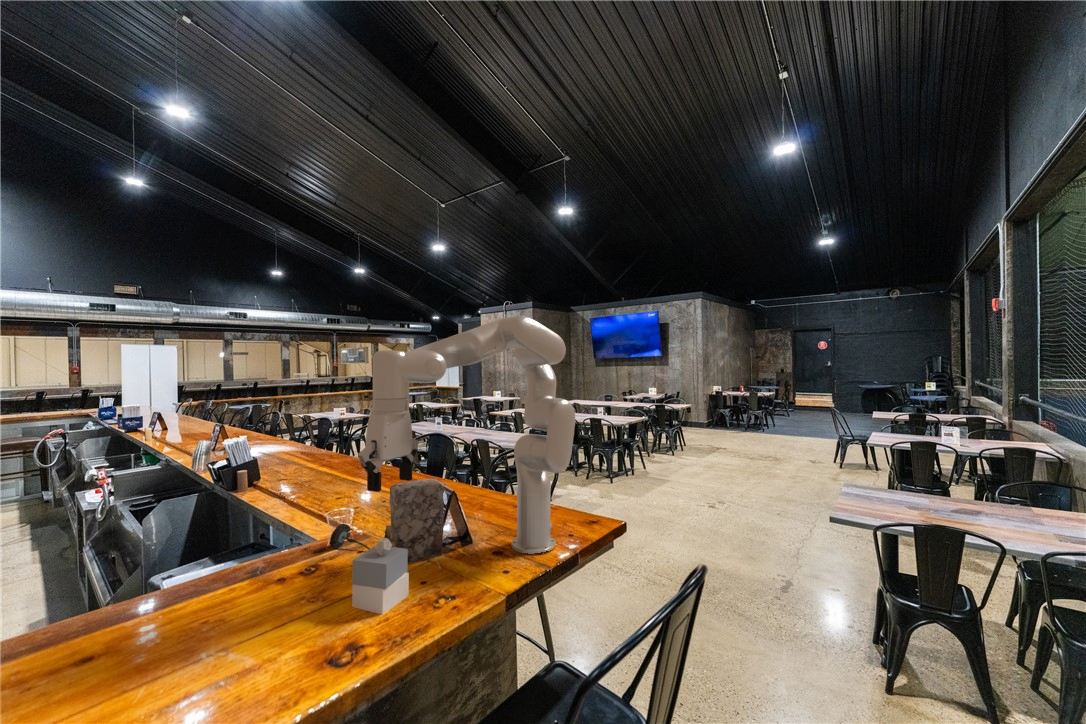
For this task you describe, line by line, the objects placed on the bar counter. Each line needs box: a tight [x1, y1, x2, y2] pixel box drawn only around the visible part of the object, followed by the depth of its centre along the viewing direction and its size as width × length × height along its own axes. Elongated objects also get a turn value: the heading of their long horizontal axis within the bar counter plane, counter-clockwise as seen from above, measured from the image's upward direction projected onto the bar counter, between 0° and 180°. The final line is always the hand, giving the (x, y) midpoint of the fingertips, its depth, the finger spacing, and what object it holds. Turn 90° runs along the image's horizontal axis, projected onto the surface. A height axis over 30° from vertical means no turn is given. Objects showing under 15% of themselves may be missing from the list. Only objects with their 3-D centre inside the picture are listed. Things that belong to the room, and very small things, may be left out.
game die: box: [374, 538, 392, 556], centre depth 92 cm, size 4×4×3 cm
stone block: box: [389, 478, 445, 565], centre depth 113 cm, size 13×7×20 cm, turn 130°
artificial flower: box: [329, 523, 391, 551], centre depth 118 cm, size 9×22×10 cm, turn 74°
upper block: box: [351, 545, 409, 589], centre depth 91 cm, size 8×8×5 cm
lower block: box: [351, 572, 410, 615], centre depth 91 cm, size 8×8×5 cm
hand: (390, 485), depth 92 cm, fingers open, 9 cm apart
